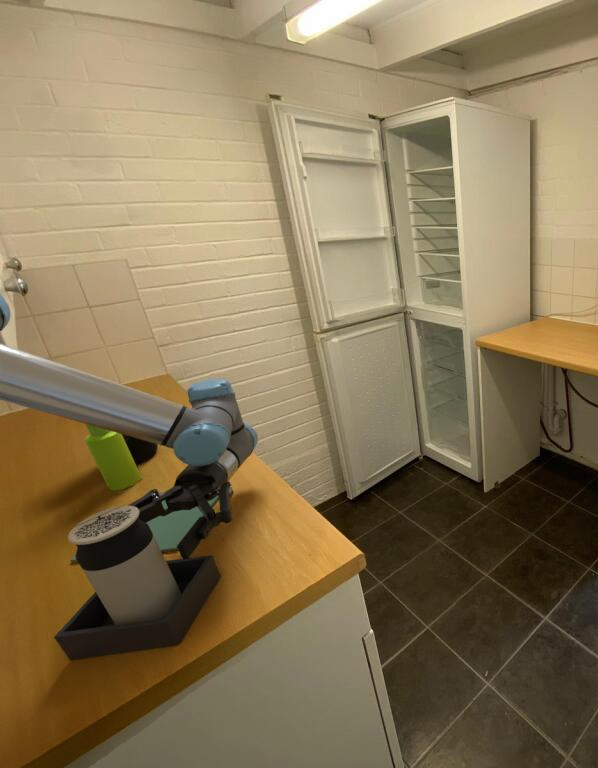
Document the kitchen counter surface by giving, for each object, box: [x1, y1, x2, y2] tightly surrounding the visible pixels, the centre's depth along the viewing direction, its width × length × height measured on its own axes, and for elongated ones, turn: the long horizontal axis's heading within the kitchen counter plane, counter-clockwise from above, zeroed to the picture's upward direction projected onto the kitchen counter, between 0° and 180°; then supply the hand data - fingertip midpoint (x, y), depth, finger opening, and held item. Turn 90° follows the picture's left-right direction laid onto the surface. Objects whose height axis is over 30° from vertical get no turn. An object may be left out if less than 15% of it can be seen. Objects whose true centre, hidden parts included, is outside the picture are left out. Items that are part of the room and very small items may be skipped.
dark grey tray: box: [53, 554, 222, 661], centre depth 65 cm, size 14×12×5 cm
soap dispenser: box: [83, 424, 142, 491], centre depth 94 cm, size 6×7×20 cm
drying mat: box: [70, 495, 219, 563], centre depth 84 cm, size 18×16×1 cm
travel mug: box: [67, 505, 182, 625], centre depth 62 cm, size 8×8×18 cm
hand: (133, 558), depth 63 cm, fingers open, 13 cm apart
